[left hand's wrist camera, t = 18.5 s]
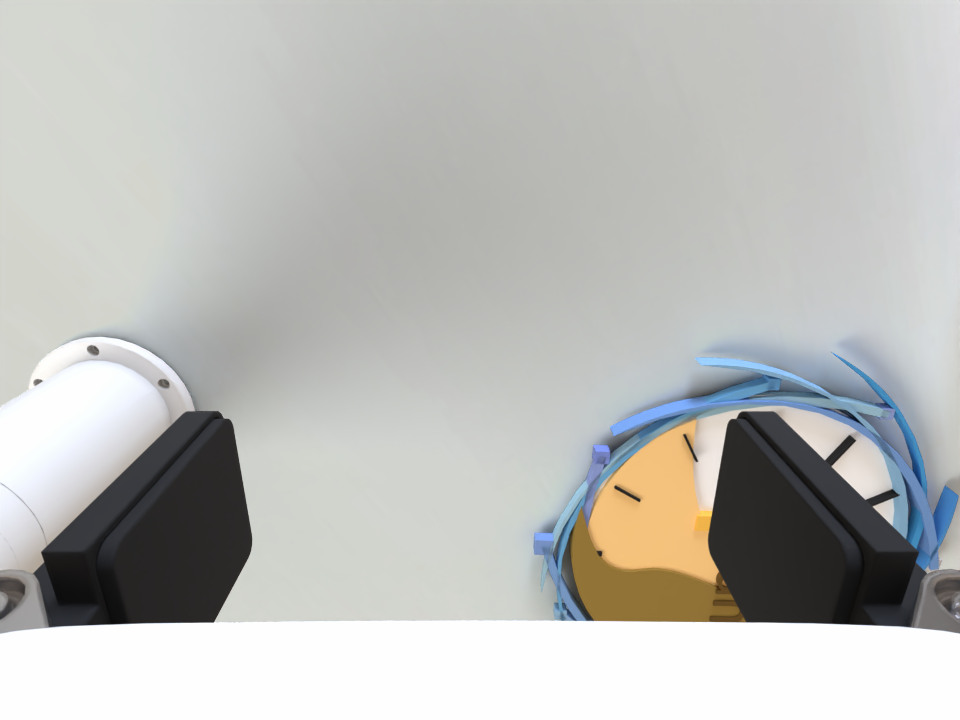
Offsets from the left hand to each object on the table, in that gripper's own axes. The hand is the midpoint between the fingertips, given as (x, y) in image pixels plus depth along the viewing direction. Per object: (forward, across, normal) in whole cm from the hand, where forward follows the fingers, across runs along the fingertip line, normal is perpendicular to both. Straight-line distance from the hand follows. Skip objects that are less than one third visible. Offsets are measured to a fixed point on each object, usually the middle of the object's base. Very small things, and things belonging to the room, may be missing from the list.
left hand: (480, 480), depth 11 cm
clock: (+33, -22, +27) cm, 48 cm away
